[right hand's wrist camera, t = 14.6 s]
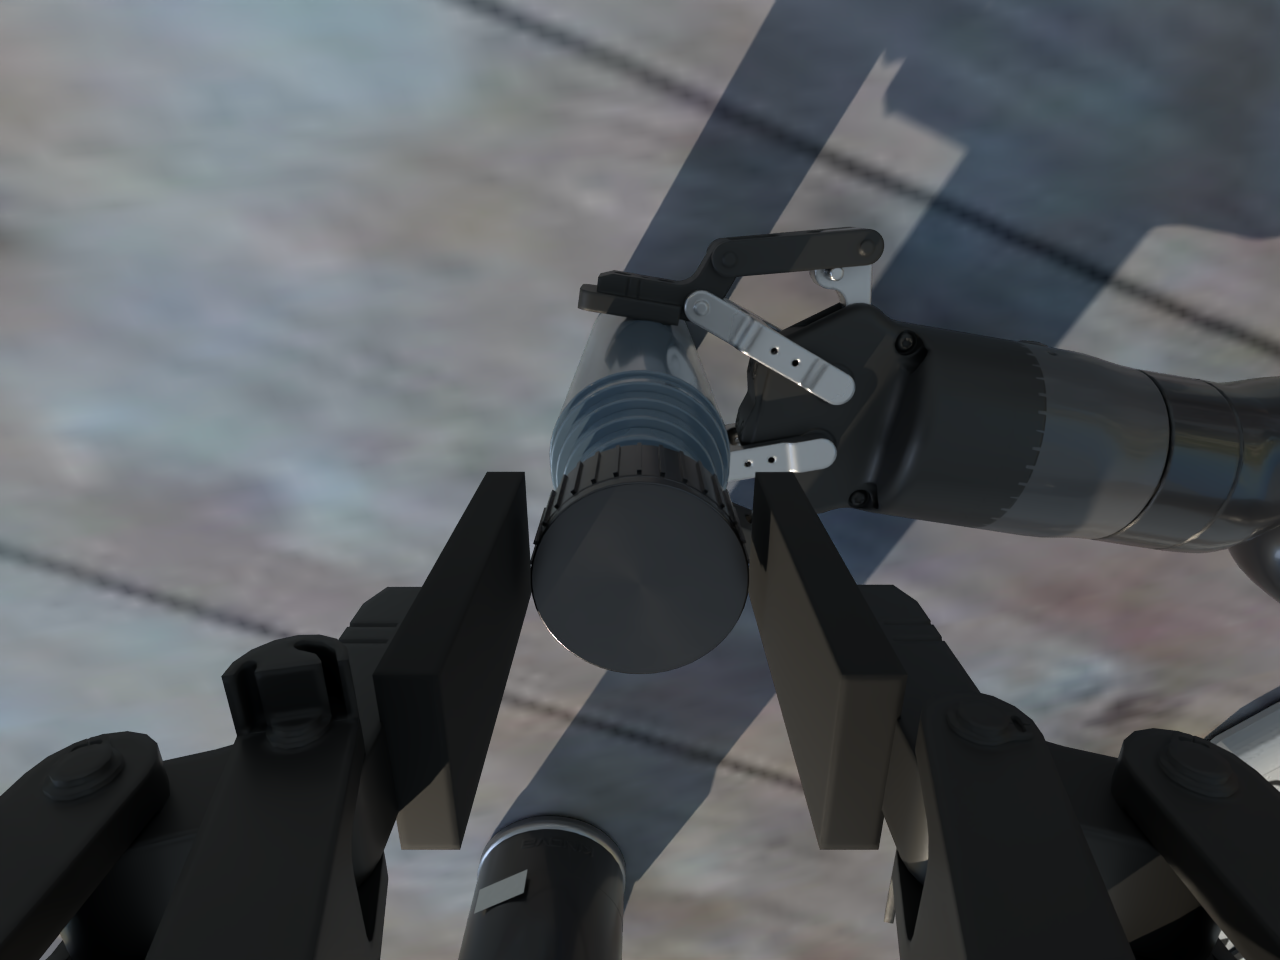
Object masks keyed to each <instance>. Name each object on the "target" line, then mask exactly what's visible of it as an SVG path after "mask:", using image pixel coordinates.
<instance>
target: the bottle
mask: <svg viewBox="0 0 1280 960" xmlns="http://www.w3.org/2000/svg"><path fill="white" fill-rule="evenodd" d="M637 443H642V445H653V446H658V447H659V444H660V445H663V447H664V448H668V449H671V450H674V451H677V452H679V451H683V452H684V455H686V456H688V457H690V458H692V459H693V460H695V461H696V462H697V461H698V460H699V461H701V462H702V465H703V467H705V468H706V469H707V470H708V471H709V472H710V473H711V474H712V475H713V474H714V473H715V474H716V475H717V478H718V481H719V483H720V485H721V486H722V487H723V489H724V490H726V487H727V483H728V478H729V468H730V456H731V452H730V442H729V438H728V433H727V430H726V427H725V425H724V422H723V419H722V417H721V414H720V411H719V409H718V406H717V403H716V401H715V398H714V396H713V393H712V390H711V388H710V385H709V382H708V380H707V377H706V374H705V372H704V369H703V366H702V364H701V361H700V358H699V356H698V353H697V351H696V348H695V345H694V343H693V340H692V337H691V335H690V332H689V329H688V327H687V324H686V322H685V321H684V320H679V323H678V326H675V325H669V324H663V323H658V322H654V321H647V320H639V319H633V318H627V317H621V316H615V315H609V314H603V313H601V314H600V315H599V316H598V318H597V319H596V321H595V323H594V325H593V328H592V330H591V333H590V336H589V338H588V341H587V344H586V346H585V349H584V351H583V354H582V357H581V359H580V362H579V365H578V367H577V370H576V372H575V375H574V378H573V380H572V383H571V386H570V388H569V391H568V393H567V396H566V399H565V401H564V404H563V407H562V409H561V412H560V415H559V417H558V420H557V422H556V425H555V428H554V430H553V434H552V438H551V442H550V453H549V455H550V467H551V478H552V483H553V487H554V490H556V489H557V487H558V486H559V484H560V483H561V479H562V476H563V475H564V474H565V475H568V474H569V472H571V471H572V470H573V469H574V468H575V467H576V466H577V463H578V462H579V461H581V462H583V461H585V460H587V459H588V458H590V457H592V456H594V455H595V452H597V451H600V452H603V451H606V450H609V449H612V448H616V445H620V447H621V446H627V445H637Z"/></svg>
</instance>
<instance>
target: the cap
mask: <svg viewBox="0 0 1280 960" xmlns="http://www.w3.org/2000/svg"><path fill="white" fill-rule="evenodd" d="M745 543H746V540H745V537H744V534H743V531H742V527H741V524H740V521H739V518H738V514H737V511H736V508H735V507H733V505H732V501H731V498H730V495H729V492H728V490H727V489H726V490H724V489H723V487H722V486H721V485H720V483H719V481H718V478H717V475H716V474H715V473H714V474H713V475H712V474H711V473H710V472H709V471H708V470H707V469H706V468H705V467H703V465H702V462H701V461H699V460H698V461H697V462H696V461H695V460H693V459H692V458H690V457H688V456H686V455H684V452H683V451H679V452H677V451H674V450H671V449H668V448H664V447H663V445H660V444H659V447H658V446H653V445H642V443H637V445H627V446H621V447H620V445H616V448H612V449H609V450H606V451H603V452H600V451H597V452H595V455H594V456H592V457H590V458H588V459H587V460H585V461H583V462H581V461H579V462H578V463H577V466H576V467H575V468H574V469H573V470H572V471H571V472H569V474H568V475H565V474H564V475H563V476H562V479H561V483H560V484H559V486H558V487H557V489H556V490H555V491H554V490H552V492H551V494H550V497H549V500H548V504H547V507H546V508H544V511H543V514H542V517H541V520H540V524H539V527H538V530H537V533H536V536H535V540H534V543H533V544H535V547H534V551H533V554H532V557H531V560H530V564H532V565H531V590H532V596H533V600H534V603H535V606H536V609H537V611H538V613H539V615H540V618H541V620H542V621H543V623H544V624H545V626H546V627H547V629H548V631H549V632H550V633H551V634H552V635H553V636H554V638H555V639H556V640H557V641H558V642H559V643H560V644H561V645H563V646H564V647H565V648H566V649H567V650H569V651H570V652H571V653H573V654H574V655H576V656H577V657H579V658H581V659H583V660H584V661H586V662H588V663H590V664H593V665H595V666H598V667H600V668H604V669H607V670H611V671H616V672H622V673H630V674H649V673H658V672H664V671H669V670H672V669H676V668H679V667H682V666H684V665H687V664H689V663H692V662H694V661H696V660H697V659H699V658H701V657H703V656H704V655H706V654H707V653H709V652H710V651H711V650H713V649H714V648H715V647H716V646H717V645H718V644H720V643H721V642H722V641H723V640H724V639H725V637H726V636H727V635H728V634H729V633H730V631H731V630H732V629H733V627H734V626H735V624H736V623H737V621H738V619H739V617H740V615H741V613H742V611H743V609H744V606H745V602H746V599H747V595H748V589H749V566H748V563H750V562H749V557H748V554H747V550H746V547H745Z"/></svg>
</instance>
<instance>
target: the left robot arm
mask: <svg viewBox="0 0 1280 960" xmlns="http://www.w3.org/2000/svg"><path fill="white" fill-rule="evenodd" d="M883 250H884V241H883V238H882V236H881V235H880V234H879V233H878V232H877V231H875V230H871V229H863V228H855V227H842V228H831V229H820V230H808V231H797V232H785V233H774V234H763V235H751V236H740V237H728V238H719V239H716V240H715V241H713V242H712V243H711V244H710V245H709V247H708V249H707V253H706V255H705V257H704V259H703V260H702V262H701V264H700V266H699V267H698V269H697V271H696V272H695V273H694V275H692V276H691V277H690V278H688V279H686V280H682V281H674V280H668V279H662V278H657V277H651V276H645V275H639V274H633V273H627V272H622V271H616V270H613V271H609V272H605V273H601V274H600V275H599V277H598V284H597V285H591V284H583V285H582V286H581V288H580V294H579V302H578V308H579V309H582V310H586V311H592V312H598V313H603V314H609V315H615V316H621V317H627V318H633V319H639V320H647V321H654V322H658V323H663V324H669V325H675V326H678V323H679V320H685V321H691V322H692V323H694V324H696V325H698V326H699V327H701V328H703V329H705V330H706V331H708V332H710V333H712V334H713V335H715V336H717V337H719V338H720V339H722V340H724V341H726V342H727V343H729V344H731V345H732V346H734V347H735V348H736V349H738V350H739V351H741V352H742V353H744V354H746V355H747V356H749V357H750V360H749V365H748V369H747V380H748V391H747V394H746V396H745V398H744V399H743V401H742V403H741V405H740V407H739V410H738V414H737V419H736V423H733V424H727V425H725V427H726V430H727V433H728V438H729V442H730V452H731V456H730V468H729V478H728V482H733V481H739V480H745V479H750V478H755V472H793V473H794V475H795V477H796V478H797V480H798V482H799V484H800V485H801V487H802V489H803V491H804V492H805V494H806V496H807V498H808V499H809V501H810V503H811V505H812V507H813V508H814V510H815V512H816V514H819V513H824V512H827V511H830V510H833V509H837V508H846V507H848V508H855V509H859V510H864V511H868V512H873V513H879V514H886V515H892V516H899V517H905V518H912V519H918V520H925V521H931V522H938V523H944V524H951V525H958V526H964V527H971V528H977V529H984V530H990V531H997V532H1004V533H1010V534H1017V535H1024V536H1033V537H1049V538H1083V539H1092V540H1097V541H1104V542H1110V543H1117V544H1123V545H1130V546H1136V547H1143V548H1149V549H1157V550H1163V551H1172V552H1184V553H1208V552H1214V551H1219V550H1224V549H1228V550H1229V552H1230V554H1231V556H1232V557H1233V559H1234V560H1235V562H1236V563H1237V565H1238V566H1239V568H1240V569H1241V570H1242V571H1243V572H1244V573H1245V574H1246V575H1247V576H1248V577H1249V578H1250V579H1251V580H1252V581H1253V582H1254V583H1255V584H1256V585H1257V586H1259V587H1260V588H1261V589H1262V590H1263V591H1265V592H1266V593H1267V594H1268V595H1269V596H1271V597H1272V598H1273V599H1275V600H1276V601H1277V602H1279V603H1280V376H1278V377H1263V378H1255V379H1247V380H1240V381H1234V382H1225V383H1216V382H1210V381H1205V380H1200V379H1192V378H1187V377H1181V376H1175V375H1169V374H1163V373H1157V372H1151V371H1146V370H1140V369H1134V368H1130V367H1125V366H1121V365H1117V364H1114V363H1111V362H1108V361H1105V360H1102V359H1099V358H1096V357H1093V356H1090V355H1086V354H1083V353H1078V352H1074V351H1069V350H1063V349H1057V348H1052V347H1048V346H1047V345H1044V344H1041V343H1039V342H1034V341H1019V342H1016V341H1011V340H1005V339H999V338H993V337H988V336H981V335H976V334H970V333H964V332H958V331H952V330H946V329H940V328H934V327H928V326H923V325H917V324H911V323H905V322H900V321H895V320H892V319H890V318H889V317H887V316H886V315H885V314H884V313H883V312H882V311H881V310H880V309H878V308H877V307H875V306H873V305H871V289H872V264H873V263H875V262H876V261H877V260H878V259H879V258H880V257H881V255H882V253H883ZM809 270H810V277H811V279H812V280H813V282H814V283H816V284H817V285H819V286H821V287H824V288H826V289H834V290H835V291H836V292H837V293H838V295H839V298H840V303H838V304H835V305H833V306H831V307H829V308H827V309H825V310H823V311H821V312H819V313H817V314H815V315H813V316H811V317H809V318H807V319H805V320H803V321H800V322H798V323H796V324H794V325H792V326H790V327H788V328H786V329H784V330H781V329H780V328H778V327H776V326H774V325H773V324H771V323H769V322H768V321H766V320H764V319H762V318H761V317H759V316H757V315H756V314H754V313H752V312H750V311H749V310H747V309H745V308H743V307H741V306H739V305H737V304H735V303H734V302H732V301H730V300H729V299H727V298H725V295H726V294H727V292H728V290H729V289H730V287H731V285H732V284H733V282H734V280H735V278H736V277H739V276H750V275H762V274H774V273H785V272H797V271H809ZM737 437H738V439H736V438H737ZM746 461H749V462H747V463H745V462H746ZM732 505H733V507H735V508H736V511H737V514H738V518H739V521H740V524H741V527H742V531H743V534H744V537H745V540H746V543H745V547H746V550H747V554H748V557H749V560H750V548H751V532H752V516H753V509H752V510H750V509H747V508H745V507H742V506H740V505H738V504H735V503H733V502H732ZM625 880H626V868H625V862H624V858H623V856H622V853H621V851H620V850H619V848H618V847H617V845H616V844H615V843H614V842H613V840H612V839H611V838H610V837H608V836H607V835H606V834H605V833H603V832H602V831H601V830H599V829H597V828H596V827H594V826H592V825H590V824H588V823H585V822H583V821H579V820H576V819H572V818H567V817H560V816H539V817H532V818H527V819H524V820H520V821H518V822H515V823H513V824H511V825H509V826H507V827H505V828H503V829H502V830H500V831H499V832H498V833H497V834H496V835H494V836H493V837H492V838H491V840H490V841H489V842H488V844H487V845H486V847H485V849H484V851H483V853H482V856H481V860H480V865H479V869H478V874H477V884H476V888H475V892H474V896H473V901H472V905H471V909H470V912H469V916H468V920H467V925H466V929H465V933H464V937H463V941H462V945H461V950H460V954H459V958H458V960H622V932H623V898H624V892H625Z"/></svg>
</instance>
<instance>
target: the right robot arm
mask: <svg viewBox="0 0 1280 960" xmlns="http://www.w3.org/2000/svg"><path fill="white" fill-rule="evenodd" d="M531 592H532V590H531V564H530V548H529V532H528V517H527V501H526V485H525V472H487V473H486V475H485V476H484V478H483V480H482V482H481V484H480V485H479V487H478V489H477V491H476V492H475V494H474V496H473V498H472V499H471V501H470V503H469V505H468V507H467V508H466V510H465V512H464V514H463V515H462V517H461V519H460V521H459V522H458V524H457V526H456V528H455V529H454V531H453V533H452V535H451V537H450V538H449V540H448V542H447V544H446V545H445V547H444V549H443V551H442V552H441V554H440V556H439V558H438V560H437V561H436V563H435V565H434V567H433V568H432V570H431V572H430V574H429V575H428V577H427V579H426V581H425V582H424V584H423V586H422V587H387V588H385V589H384V590H382V591H381V592H379V593H378V594H377V595H375V596H374V597H372V598H371V599H369V600H368V601H366V602H365V603H364V604H363V605H362V606H361V608H360V609H359V611H358V612H357V614H356V615H355V616H354V618H353V619H352V621H351V622H350V627H347V628H346V629H345V631H344V632H343V634H342V635H341V637H340V638H339V640H338V639H335V638H331V637H327V636H323V635H296V636H292V637H287V638H283V639H278V640H274V641H272V642H269V643H267V644H264V645H262V646H259V647H257V648H255V649H252V650H251V651H249V652H248V653H246V654H245V655H243V656H242V657H240V658H239V659H237V660H236V661H234V662H233V663H232V664H231V665H230V667H229V668H228V669H227V670H226V671H225V673H224V674H223V675H222V676H221V677H222V680H223V684H224V688H225V692H226V696H227V699H228V703H229V707H230V711H231V715H232V718H233V722H234V726H235V730H236V734H237V738H236V740H235V742H234V744H233V745H230V746H226V747H223V748H219V749H216V750H211V751H207V752H202V753H197V754H193V755H188V756H184V757H179V758H175V759H170V760H165V761H163V760H162V757H161V754H160V751H159V748H158V745H157V743H156V742H155V741H154V740H153V739H151V738H150V737H149V736H148V735H147V734H141V733H135V732H129V731H125V732H117V733H109V734H102V735H99V736H95V737H91V738H89V739H85V740H82V741H79V742H76V743H74V744H72V745H70V746H68V747H66V748H64V749H62V750H60V751H58V752H56V753H54V754H52V755H50V756H48V757H47V758H45V759H44V760H43V761H41V762H40V763H39V764H37V765H36V766H35V767H33V768H32V769H31V770H29V771H28V772H26V773H25V774H24V775H23V776H22V777H21V778H20V779H19V780H17V781H16V782H15V783H14V784H13V785H12V786H11V787H10V788H9V789H8V790H7V791H6V792H4V793H3V794H2V795H1V796H0V960H39V959H40V958H41V957H42V955H43V954H44V953H45V952H46V950H47V949H48V948H49V947H50V945H51V944H52V943H53V942H54V940H55V939H56V938H57V937H58V935H59V934H60V935H61V937H62V939H63V940H62V942H61V943H60V944H59V945H58V947H57V948H56V949H55V951H54V952H53V953H52V954H51V955H50V956H49V957H48V958H47V959H46V960H380V955H381V945H382V935H383V926H384V916H385V906H386V896H387V886H388V873H387V866H386V860H385V855H384V848H385V846H386V843H387V841H388V838H389V836H390V833H391V831H392V828H393V826H394V823H395V820H397V826H398V831H399V837H400V843H401V849H402V850H460V848H461V844H462V841H463V837H464V834H465V830H466V826H467V823H468V819H469V816H470V812H471V808H472V805H473V801H474V798H475V794H476V790H477V787H478V783H479V780H480V776H481V772H482V769H483V765H484V762H485V758H486V754H487V751H488V747H489V744H490V740H491V736H492V733H493V729H494V726H495V722H496V718H497V715H498V711H499V708H500V704H501V700H502V697H503V693H504V690H505V686H506V682H507V679H508V675H509V672H510V668H511V664H512V661H513V657H514V654H515V650H516V646H517V643H518V639H519V636H520V632H521V628H522V625H523V621H524V618H525V614H526V610H527V607H528V603H529V600H530V596H531ZM748 592H749V596H750V600H751V603H752V607H753V610H754V614H755V618H756V621H757V625H758V628H759V632H760V636H761V639H762V643H763V646H764V650H765V654H766V657H767V661H768V664H769V668H770V672H771V675H772V679H773V682H774V686H775V690H776V693H777V697H778V700H779V704H780V708H781V711H782V715H783V718H784V722H785V726H786V729H787V733H788V736H789V740H790V744H791V747H792V751H793V754H794V758H795V762H796V765H797V769H798V772H799V776H800V780H801V783H802V787H803V790H804V794H805V798H806V801H807V805H808V808H809V812H810V816H811V819H812V823H813V826H814V830H815V834H816V837H817V841H818V844H819V848H820V850H878V849H879V843H880V837H881V831H882V825H883V820H884V817H885V820H886V822H887V825H888V827H889V830H890V832H891V835H892V837H893V840H894V842H895V845H896V847H897V849H896V855H895V860H894V866H893V871H892V877H891V882H890V888H889V893H888V899H887V904H886V911H885V918H884V922H888V923H893V922H894V917H895V914H896V924H897V934H898V943H899V953H900V960H1238V959H1237V958H1236V957H1235V956H1234V955H1233V954H1232V953H1231V952H1230V951H1229V950H1228V949H1227V947H1226V946H1225V945H1224V944H1223V942H1222V941H1221V940H1220V939H1219V935H1220V932H1221V930H1222V931H1223V933H1224V934H1225V935H1226V936H1227V938H1228V939H1229V940H1230V941H1231V943H1232V944H1233V945H1234V946H1235V948H1236V949H1237V950H1238V951H1239V953H1240V954H1241V955H1242V956H1243V958H1244V959H1245V960H1280V792H1279V791H1278V790H1277V789H1276V788H1275V787H1274V786H1273V785H1272V784H1271V783H1270V782H1269V781H1267V780H1266V779H1265V778H1264V777H1263V776H1262V775H1261V774H1260V773H1259V772H1258V771H1256V770H1255V769H1254V768H1252V767H1251V766H1250V765H1248V764H1247V763H1246V762H1244V761H1243V760H1242V759H1240V758H1239V757H1237V756H1236V755H1235V754H1233V753H1231V752H1229V751H1227V750H1225V749H1223V748H1221V747H1219V746H1217V745H1215V744H1213V743H1211V742H1210V741H1208V740H1205V739H1202V738H1200V737H1197V736H1192V735H1190V734H1186V733H1183V732H1179V731H1173V730H1164V729H1156V728H1151V729H1145V730H1139V731H1134V732H1133V733H1132V734H1131V735H1129V736H1128V737H1127V738H1126V739H1125V740H1124V741H1123V745H1122V748H1121V751H1120V754H1119V757H1118V758H1115V757H1110V756H1106V755H1101V754H1096V753H1092V752H1087V751H1083V750H1078V749H1073V748H1069V747H1064V746H1061V745H1057V744H1054V743H1050V742H1047V741H1045V739H1044V736H1043V734H1042V733H1041V732H1040V730H1039V729H1038V727H1037V726H1036V724H1035V723H1034V722H1033V720H1032V719H1031V718H1029V717H1028V716H1027V715H1025V714H1024V713H1023V712H1021V711H1020V710H1019V709H1018V708H1016V707H1015V706H1013V705H1011V704H1009V703H1007V702H1004V701H1002V700H1000V699H998V698H996V697H994V696H991V695H987V694H983V693H980V691H979V690H978V689H977V687H976V686H975V684H974V683H973V681H972V680H971V678H970V677H969V676H968V674H967V673H966V671H965V670H964V668H963V667H962V665H961V664H960V663H959V661H958V660H957V658H956V657H955V655H954V654H953V652H952V651H951V650H950V648H949V647H948V645H947V644H946V642H945V641H942V637H941V635H940V634H939V632H938V631H937V629H936V628H935V627H934V625H931V623H930V622H931V621H930V619H929V618H928V616H927V615H926V614H925V612H924V611H923V609H922V608H921V606H920V605H919V603H918V602H917V601H916V600H914V599H913V598H911V597H910V596H908V595H907V594H906V593H904V592H903V591H901V590H900V589H898V588H897V587H895V586H894V585H857V584H856V582H855V581H854V579H853V577H852V575H851V574H850V572H849V570H848V568H847V567H846V565H845V563H844V561H843V560H842V558H841V556H840V554H839V552H838V551H837V549H836V547H835V545H834V544H833V542H832V540H831V538H830V537H829V535H828V533H827V531H826V529H825V528H824V526H823V524H822V522H821V521H820V519H819V517H818V515H817V514H816V512H815V510H814V508H813V507H812V505H811V503H810V501H809V499H808V498H807V496H806V494H805V492H804V491H803V489H802V487H801V485H800V484H799V482H798V480H797V478H796V477H795V475H794V473H793V472H755V485H754V501H753V516H752V532H751V548H750V563H749V589H748Z"/></svg>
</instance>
